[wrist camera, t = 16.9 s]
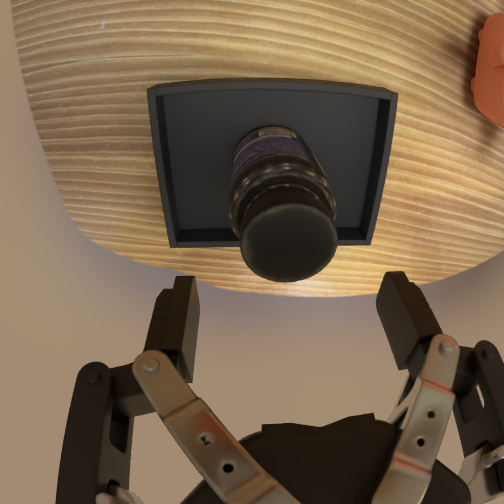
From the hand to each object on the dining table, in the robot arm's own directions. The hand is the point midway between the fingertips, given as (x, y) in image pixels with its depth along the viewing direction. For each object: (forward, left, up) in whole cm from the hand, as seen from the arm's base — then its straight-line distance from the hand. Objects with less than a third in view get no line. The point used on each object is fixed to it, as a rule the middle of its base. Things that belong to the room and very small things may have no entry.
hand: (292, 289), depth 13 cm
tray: (0, 0, -14) cm, 14 cm away
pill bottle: (0, 0, -14) cm, 14 cm away
